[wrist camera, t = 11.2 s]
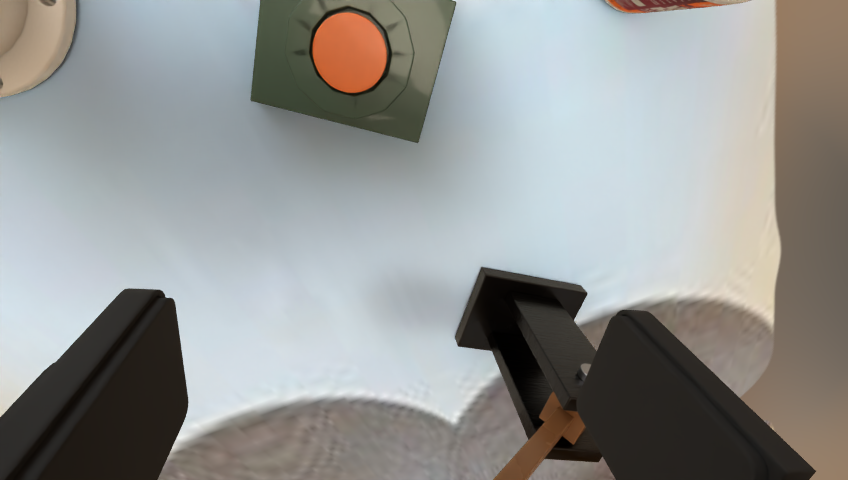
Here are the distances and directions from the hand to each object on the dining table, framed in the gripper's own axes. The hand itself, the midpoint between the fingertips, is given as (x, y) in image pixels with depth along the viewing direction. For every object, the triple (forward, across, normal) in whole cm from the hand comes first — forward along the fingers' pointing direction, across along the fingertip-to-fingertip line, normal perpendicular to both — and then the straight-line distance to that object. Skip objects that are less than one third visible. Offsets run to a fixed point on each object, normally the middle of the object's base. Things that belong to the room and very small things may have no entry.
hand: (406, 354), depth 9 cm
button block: (+20, +2, -5) cm, 21 cm away
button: (+17, +2, -5) cm, 18 cm away
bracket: (+20, -13, +13) cm, 27 cm away
